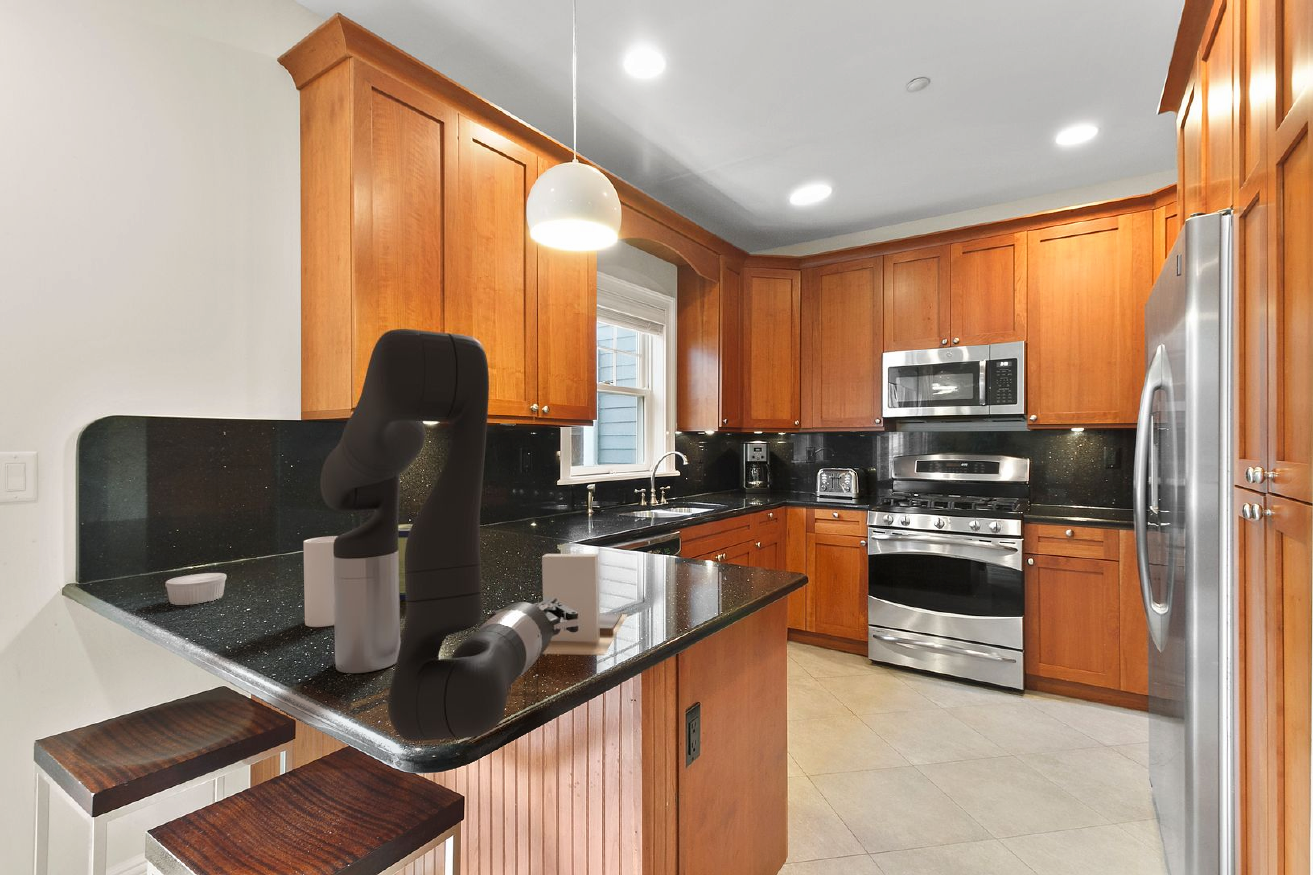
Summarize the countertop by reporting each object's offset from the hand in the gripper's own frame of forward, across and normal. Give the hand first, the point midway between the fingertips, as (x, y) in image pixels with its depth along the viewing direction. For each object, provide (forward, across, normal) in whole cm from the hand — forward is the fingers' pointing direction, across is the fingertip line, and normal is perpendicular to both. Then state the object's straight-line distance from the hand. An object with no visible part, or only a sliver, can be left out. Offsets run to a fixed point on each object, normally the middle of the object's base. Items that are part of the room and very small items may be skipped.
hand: (552, 604), depth 91 cm
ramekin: (+37, +94, +9) cm, 101 cm away
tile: (+12, 0, +9) cm, 15 cm away
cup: (+23, +52, +9) cm, 58 cm away
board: (+15, 0, +10) cm, 18 cm away
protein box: (+44, +45, +9) cm, 64 cm away
